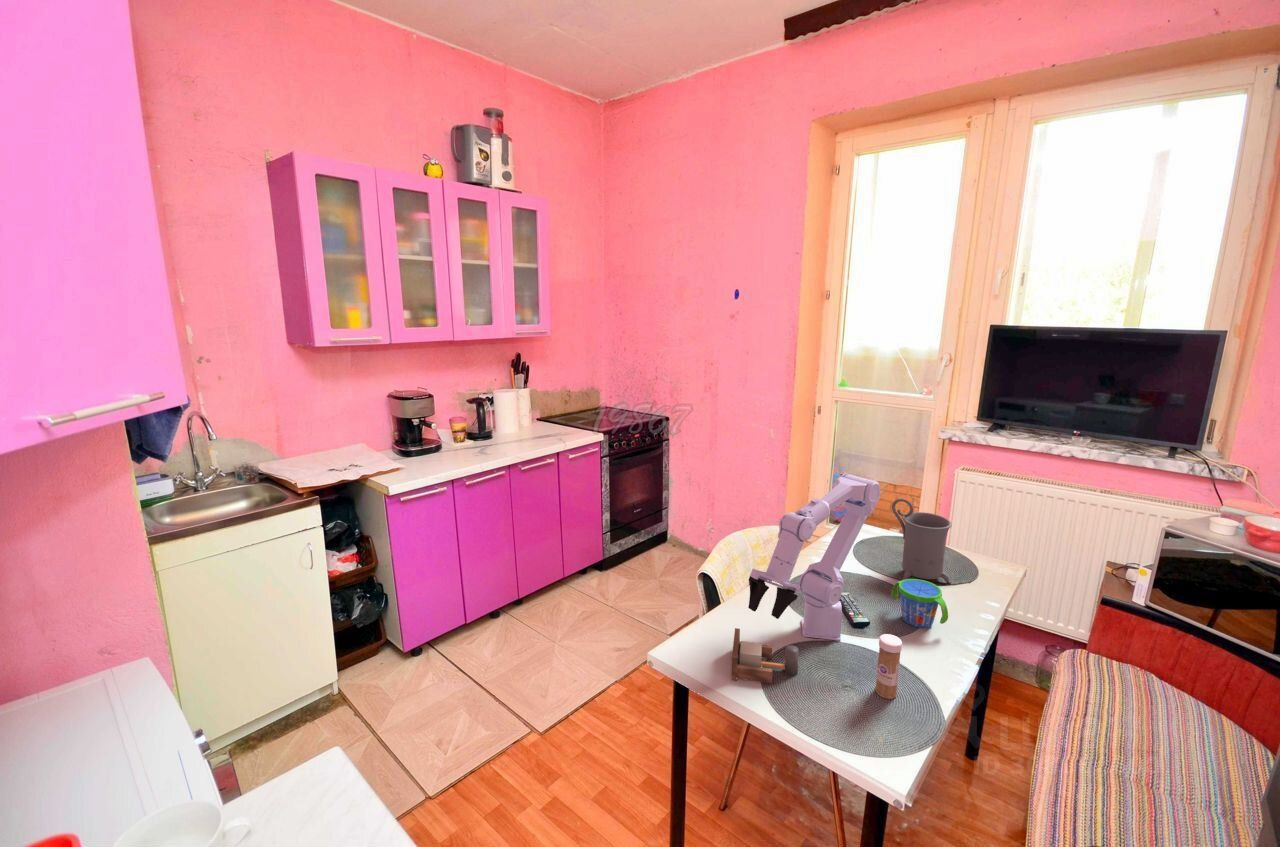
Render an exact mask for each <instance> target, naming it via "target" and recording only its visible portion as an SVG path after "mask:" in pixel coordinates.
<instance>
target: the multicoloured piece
mask: <svg viewBox="0 0 1280 847" xmlns="http://www.w3.org/2000/svg"><path fill="white" fill-rule="evenodd" d="M740 641H741V647H740V655H739V664H740V665H748V666H755V667H767V668H777V669H784V673H785V674H786V675H787V676H790V677H795V676H797V675H798V673H799V672H798V671H799V653H800V652H799V648H798V647H797V646H795V645H787V646H786V647H785V650H784V652H785V653H784V663H778V662H771V661H770V662H769V661H763V660H762V658H761V654H762V644H763V643H761V642H753V641H747V640H746V641H745V640H740Z"/></svg>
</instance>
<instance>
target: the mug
mask: <svg viewBox="0 0 1280 847" xmlns="http://www.w3.org/2000/svg"><path fill="white" fill-rule="evenodd" d="M900 502H901V503H902V502H903V503H905V504H907V505H908V506H909V512H906V513H903V512H902V511H901V509H899V508H898V509H897V510H896V505H897V504H898V503H900ZM891 508H892V509H891V510H892V513H893V514H894V516H895V517H896V519H897V520H898V522H899V524H900V526H901V530H902V534H903V535H902V536H903V537H902V539H903V542H904V543H903V550H902V551H903V552H902V553H903V554H902V561H901V562H902V565H901V568H902V570H903V571H904V574H903V578H902V580H906V579H910V577H911V576H913V577H915V578H918V579H919V578H920V579H923V580H924V579H926V580H935V579H939V578H942V579H943V580H944V581H945V582H946V583H947V584H950V585H951V584H952V581H950V577H949V575H948V574H947V573H946V572H945V571H944V564H945V554H946V553H945V552H946V544H947V536H948V532H949V530H950V529H951V528H952V526H953V523H952V522H951V520H949V519H948V518H946V517H944V516H941V515H938V514H936V513H935V514H934V513H929V512H925V511H914V506H913V503H912V502H911V501H910V500H908V499H906V498H896V499H895V500H893V502H892V504H891ZM901 517H902V518H901ZM903 521H904V522H903Z"/></svg>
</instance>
